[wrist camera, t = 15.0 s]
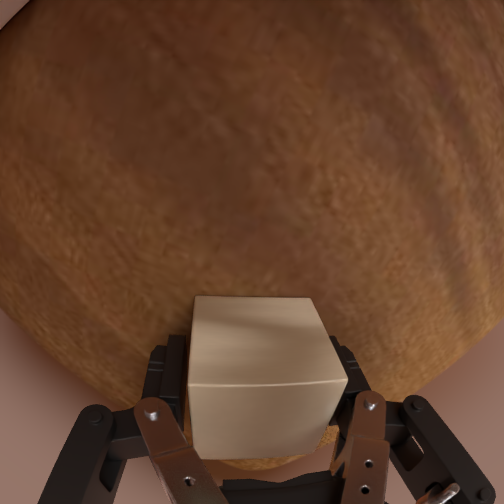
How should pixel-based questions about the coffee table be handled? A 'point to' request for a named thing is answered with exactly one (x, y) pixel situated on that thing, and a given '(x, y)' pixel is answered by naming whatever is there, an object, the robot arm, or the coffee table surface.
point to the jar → (9, 9)
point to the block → (260, 377)
